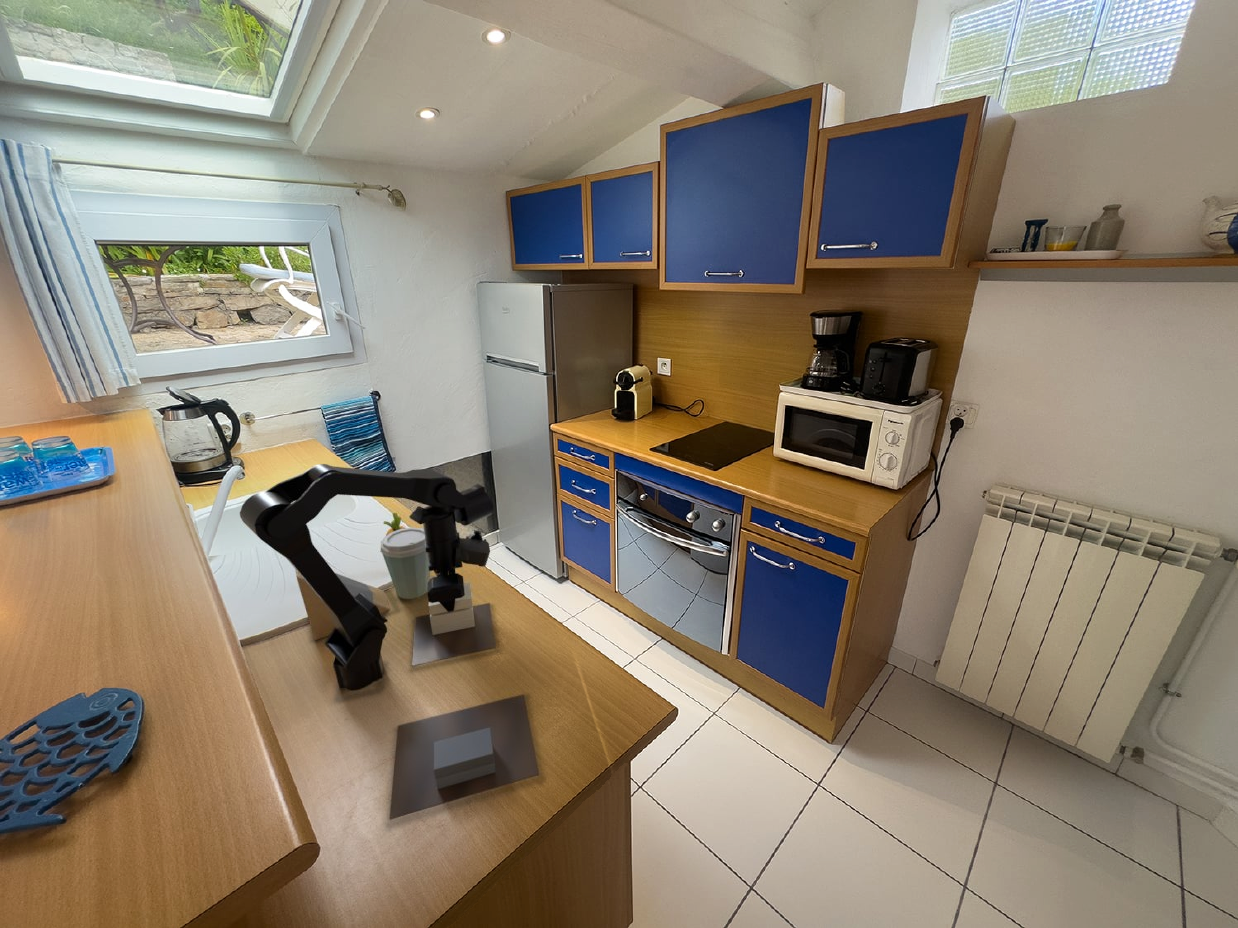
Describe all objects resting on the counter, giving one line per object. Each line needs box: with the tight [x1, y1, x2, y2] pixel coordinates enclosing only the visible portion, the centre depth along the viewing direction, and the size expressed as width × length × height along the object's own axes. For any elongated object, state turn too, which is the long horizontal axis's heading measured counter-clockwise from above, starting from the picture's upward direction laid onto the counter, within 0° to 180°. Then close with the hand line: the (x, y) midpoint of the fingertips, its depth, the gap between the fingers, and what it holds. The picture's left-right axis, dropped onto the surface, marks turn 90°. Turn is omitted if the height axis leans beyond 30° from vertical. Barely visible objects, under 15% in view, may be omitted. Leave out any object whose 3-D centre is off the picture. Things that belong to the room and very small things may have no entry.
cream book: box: [428, 581, 474, 615], centre depth 98 cm, size 8×6×2 cm
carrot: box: [383, 512, 406, 537], centre depth 116 cm, size 5×5×15 cm
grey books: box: [434, 728, 495, 789], centre depth 71 cm, size 8×4×4 cm, turn 109°
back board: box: [411, 602, 497, 667], centre depth 98 cm, size 15×14×1 cm
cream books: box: [430, 607, 475, 635], centre depth 100 cm, size 8×6×4 cm
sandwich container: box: [294, 568, 391, 641], centre depth 101 cm, size 9×15×15 cm, turn 126°
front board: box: [389, 694, 540, 820], centre depth 75 cm, size 20×15×1 cm
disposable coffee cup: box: [380, 526, 431, 600], centre depth 108 cm, size 11×11×15 cm
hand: (450, 601), depth 99 cm, fingers open, 6 cm apart
